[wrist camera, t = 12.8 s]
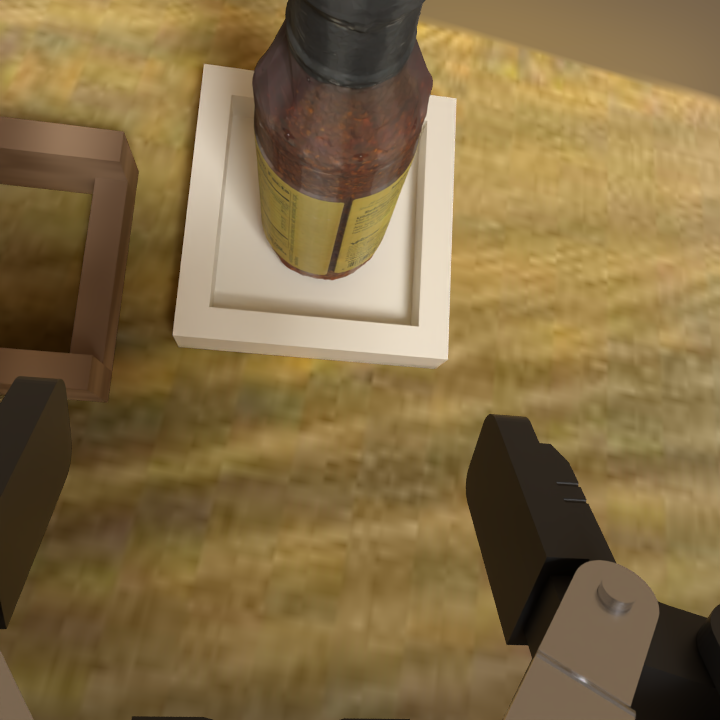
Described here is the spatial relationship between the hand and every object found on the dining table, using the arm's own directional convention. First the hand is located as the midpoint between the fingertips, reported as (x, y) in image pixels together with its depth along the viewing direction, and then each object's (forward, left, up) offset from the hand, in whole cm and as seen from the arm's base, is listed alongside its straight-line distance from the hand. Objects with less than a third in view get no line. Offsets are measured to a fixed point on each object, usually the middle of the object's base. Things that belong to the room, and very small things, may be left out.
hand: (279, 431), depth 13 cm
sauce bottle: (+2, +12, -20) cm, 24 cm away
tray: (+2, +13, -21) cm, 24 cm away
